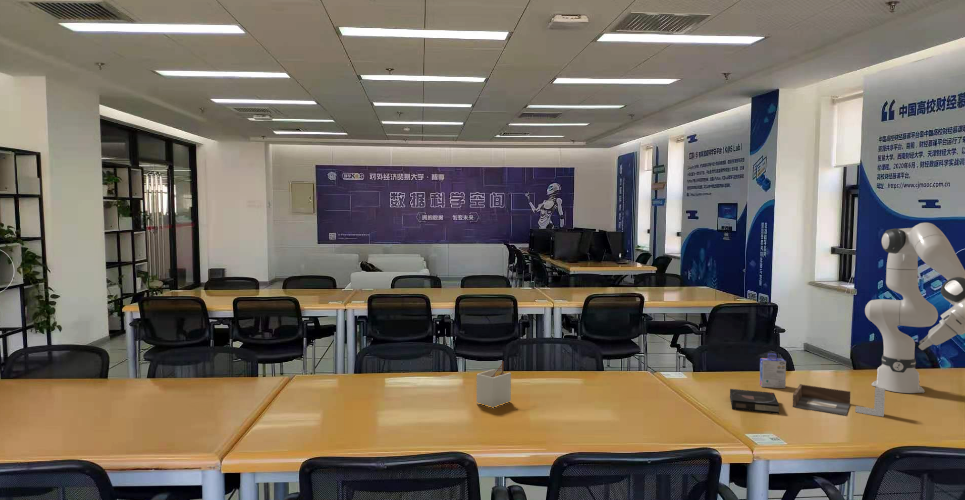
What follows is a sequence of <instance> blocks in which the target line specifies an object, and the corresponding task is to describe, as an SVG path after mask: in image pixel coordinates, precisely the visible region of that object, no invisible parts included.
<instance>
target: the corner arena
mask: <svg viewBox="0 0 965 500" xmlns="http://www.w3.org/2000/svg"><path fill="white" fill-rule="evenodd" d="M850 406H851V391H849V390H842V389H835V388H829V387H821V386H814V385H809V384H807V385H806V384H802V383H799V385H798V387H797V388H796V390H795V391H794V392H793V394H792V408H796V409H803V410H807V411H808V410H809V411H813V412H814V411H815V412H822V413H827V414H832V415H833V414H834V415H837V416H838V415H839V416H845V417H846V416H847V415H848V414H847V413H848V412H849V409H850Z"/></svg>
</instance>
